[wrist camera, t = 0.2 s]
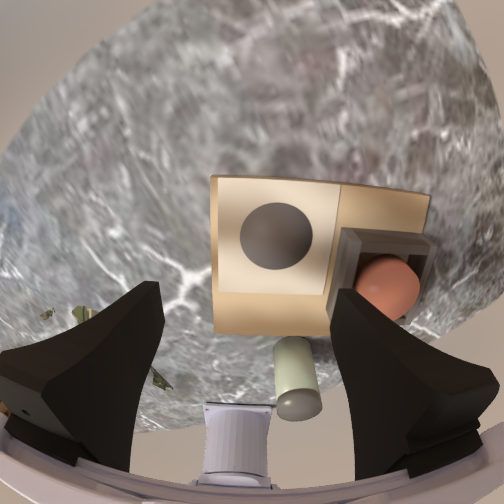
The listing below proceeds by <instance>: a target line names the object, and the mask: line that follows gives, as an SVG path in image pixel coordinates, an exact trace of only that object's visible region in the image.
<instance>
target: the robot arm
mask: <svg viewBox="0 0 504 504" xmlns="http://www.w3.org/2000/svg"><path fill="white" fill-rule="evenodd" d="M164 324H165V318H164V313H163V307H162V301H161V294H160V288H159V282H155V281H144V282H142V283H140V284H139V285H138V286H136V287H135V288H133V289H132V290H131V291H129V292H128V293H126V294H125V295H124V296H122V297H121V298H120V299H118V300H117V301H115V302H114V303H113V304H111V305H110V306H108V307H107V308H105V309H104V310H102V311H101V312H99V313H98V314H96V315H95V316H93V317H91V318H90V319H88V320H86V321H85V322H83V323H81V324H79V325H77V326H75V327H74V328H72V329H70V330H67V331H65V332H63V333H60V334H58V335H56V336H54V337H51V338H49V339H46V340H43V341H40V342H37V343H34V344H31V345H27V346H24V347H19V348H15V349H10V350H5V351H2V352H1V354H0V400H1V401H2V402H3V403H4V405H5V406H6V407H7V408H8V409H9V411H10V412H11V415H10V417H9V419H8V418H7V417H6V416H5V415H4V414H2V413H1V412H0V480H1V481H2V482H3V483H5V484H6V485H7V486H9V487H10V488H12V489H13V490H15V491H16V492H18V493H19V494H21V495H22V496H24V497H26V498H27V499H29V500H30V501H32V502H34V503H35V504H473V503H475V502H477V501H478V500H480V499H482V498H483V497H485V496H486V495H488V494H489V493H491V492H492V491H494V490H495V489H497V488H498V487H500V486H501V485H502V484H504V422H501V423H499V424H497V425H495V426H494V427H492V428H490V429H488V430H486V431H484V432H483V433H482V434H480V435H479V433H478V431H477V429H478V428H479V427H480V422H479V420H478V417H480V415H481V414H482V413H483V412H484V411H485V410H486V409H487V407H488V406H489V405H490V404H491V402H492V401H493V400H494V399H495V397H496V395H497V394H498V391H499V387H500V385H499V383H498V381H497V380H496V378H495V376H494V374H493V373H492V371H491V370H490V369H489V368H486V367H483V366H479V365H476V364H472V363H469V362H466V361H463V360H461V359H458V358H455V357H453V356H451V355H448V354H446V353H444V352H442V351H440V350H438V349H436V348H434V347H432V346H430V345H428V344H426V343H425V342H423V341H421V340H420V339H418V338H417V337H415V336H413V335H412V334H410V333H409V332H407V331H406V330H404V329H403V328H402V327H400V326H399V325H397V324H396V323H395V322H393V321H392V320H391V319H390V318H388V317H387V316H386V315H385V314H383V313H382V312H381V311H380V310H379V309H377V308H376V307H375V306H374V305H373V304H371V303H370V302H369V301H368V300H367V299H365V298H364V297H363V296H362V295H361V294H359V293H358V292H357V291H356V290H354V289H353V288H339V289H338V293H337V298H336V302H335V306H334V311H333V315H332V319H331V323H330V327H329V328H330V335H331V341H332V346H333V350H334V354H335V357H336V360H337V363H338V366H339V370H340V373H341V376H342V379H343V383H344V386H345V389H346V393H347V397H348V402H349V408H350V414H351V421H352V429H353V439H354V454H355V481H353V482H347V483H341V484H334V485H327V486H319V487H309V488H297V489H280V488H279V487H278V486H277V485H276V484H271V480H270V478H269V477H268V476H267V434H268V429H269V423H270V418H271V413H272V407H271V406H249V405H227V404H213V403H204V404H203V410H204V416H205V422H206V427H207V436H206V444H205V453H204V461H203V470H202V474H199V480H192V482H190V483H188V485H186V484H179V483H173V482H167V481H162V480H157V479H152V478H148V477H143V476H139V475H135V474H131V473H129V468H130V455H131V446H132V438H133V431H134V425H135V419H136V414H137V409H138V405H139V400H140V396H141V392H142V389H143V385H144V382H145V380H146V377H147V375H148V372H149V369H150V367H151V364H152V362H153V359H154V357H155V354H156V351H157V349H158V346H159V344H160V340H161V337H162V333H163V328H164ZM144 499H145V500H144Z"/></svg>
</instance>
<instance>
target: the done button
mask: <svg viewBox="0 0 504 504" xmlns="http://www.w3.org/2000/svg"><path fill="white" fill-rule="evenodd" d="M353 289H354V290H356V291H357V292H358V293H359V294H361V295H362V296H363V297H364V298H365V299H367V300H368V301H369V302H370V303H371V304H373V305H374V306H375V307H376V308H377V309H379V310H380V311H381V312H382V313H383V314H385V315H386V316H387V317H388V318H390V319H391V320H392V321H394V320H396V319H398V318H400V317H401V316H403V315H404V314H405V313H407V312H408V311H409V310H410V309H411V307H412V306H413V305H414V303H415V301H416V300H417V297H418V294H419V290H420V283H419V279H418V277H417V275H416V274H415V273H414V272H413V270H412V269H411V268H410V267H409V266H408V265H407V264H406V263H405V261H404V260H403V259H402V258H400V257H399V256H397V255H393V254H382V255H379V256H376V257H374V258H372V259H370V260H369V261H368V262H366V263H365V264H364V265H363V266H362V267H361V268H360V270H359V271H358V273H357V275H356V277H355V280H354V284H353Z"/></svg>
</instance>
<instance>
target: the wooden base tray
mask: <svg viewBox="0 0 504 504" xmlns="http://www.w3.org/2000/svg"><path fill="white" fill-rule="evenodd" d="M429 199H430V196H428V195H426V194H424V193H418V192H412V191H405V190H399V189H392V188H384V187H377V186H369V185H361V184H352V183H342V182H332V181H322V180H310V179H296V178H281V177H262V176H237V175H212V176H211V177H210V203H211V261H212V291H213V314H214V333H220V334H239V335H269V336H329V335H330V328H329V327H330V323H331V319H332V315H333V311H334V306H335V302H336V298H337V293H338V289H339V288H353V284H354V280H355V277H356V275H357V273H358V271H359V270H360V268H361V267H362V266H363V265H364V264H365V263H366V262H368V261H369V260H370V259H372V258H374V257H376V256H379V255H382V254H393V255H397V256H399V257H400V258H402V259H403V260H404V261H405V263H406V264H407V265H408V266H409V267H410V268H411V269H412V270H413V272H414V273H415V274H416V275H417V277H418V279H419V283H420V290H419V294H418V297H417V300H416V301H415V303H414V305H413V306H412V307H411V309H410V310H409V311H408V312H407V313H405V314H404V315H403V316H401V317H400V318H398V319H396V320H394V321H393V322H395V323H396V324H397V325H410V324H411V322H412V319H413V317H414V314H415V312H416V309H417V307H418V304H419V302H420V299H421V296H422V294H423V291H424V288H425V285H426V283H427V280H428V277H429V274H430V271H431V268H432V265H433V261H434V258H435V255H436V252H437V248H438V246H436V245H435V244H434V243H433V242H432V241H431V240H429V239H428V238H427V237H426V236H425V235H423V234H422V230H423V226H424V222H425V218H426V213H427V208H428V204H429Z"/></svg>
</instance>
